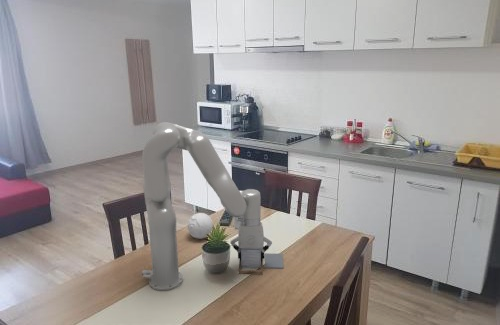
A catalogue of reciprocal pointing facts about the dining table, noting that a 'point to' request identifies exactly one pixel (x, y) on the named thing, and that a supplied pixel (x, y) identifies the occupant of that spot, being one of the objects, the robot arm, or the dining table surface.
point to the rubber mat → (274, 261)
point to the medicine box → (250, 258)
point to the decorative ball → (200, 225)
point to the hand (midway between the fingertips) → (251, 259)
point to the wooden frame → (250, 271)
